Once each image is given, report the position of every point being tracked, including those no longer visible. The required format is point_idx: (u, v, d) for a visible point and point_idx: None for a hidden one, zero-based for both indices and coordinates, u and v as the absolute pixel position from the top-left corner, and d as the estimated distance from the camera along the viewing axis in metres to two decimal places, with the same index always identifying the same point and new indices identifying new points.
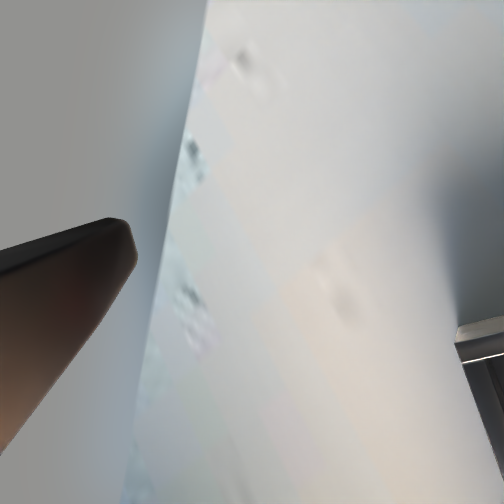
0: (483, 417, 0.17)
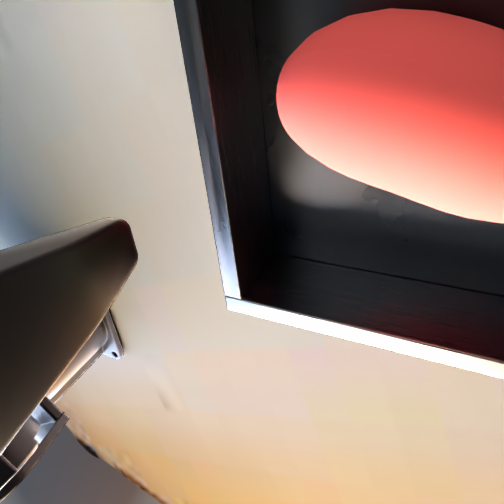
0: None
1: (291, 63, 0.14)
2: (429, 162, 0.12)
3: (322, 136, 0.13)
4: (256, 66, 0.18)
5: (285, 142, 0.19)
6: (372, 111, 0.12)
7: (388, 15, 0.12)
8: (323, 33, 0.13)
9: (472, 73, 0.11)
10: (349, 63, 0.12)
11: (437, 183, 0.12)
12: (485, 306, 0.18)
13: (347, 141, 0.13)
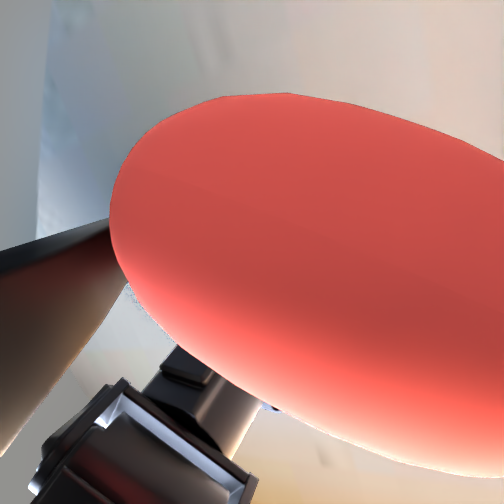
0: None
1: (117, 176, 0.08)
2: (320, 408, 0.06)
3: (154, 314, 0.08)
4: None
5: None
6: (212, 306, 0.06)
7: (254, 115, 0.07)
8: (157, 134, 0.08)
9: (392, 262, 0.05)
10: (175, 208, 0.06)
11: (341, 433, 0.06)
12: None
13: (186, 338, 0.07)
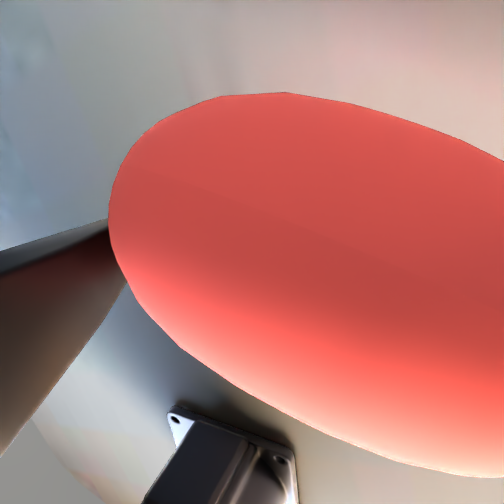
0: None
1: None
2: (318, 408, 0.06)
3: (153, 314, 0.08)
4: None
5: None
6: (210, 306, 0.06)
7: (253, 115, 0.07)
8: (156, 133, 0.08)
9: (392, 262, 0.05)
10: (174, 208, 0.06)
11: (340, 433, 0.06)
12: None
13: (185, 337, 0.07)
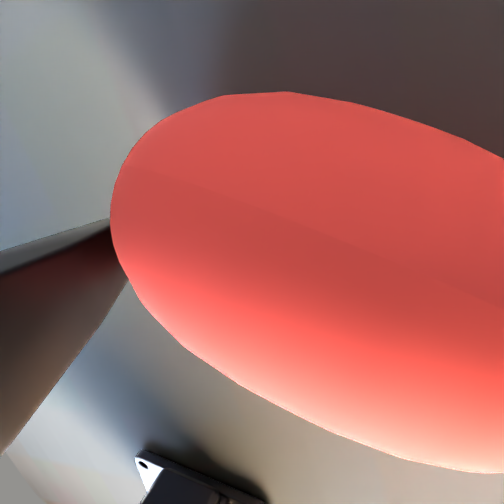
0: None
1: (118, 176, 0.08)
2: (323, 406, 0.06)
3: (156, 314, 0.08)
4: None
5: None
6: (215, 305, 0.06)
7: (256, 114, 0.07)
8: (158, 133, 0.08)
9: (395, 261, 0.05)
10: (177, 208, 0.06)
11: (344, 431, 0.06)
12: None
13: (189, 337, 0.07)
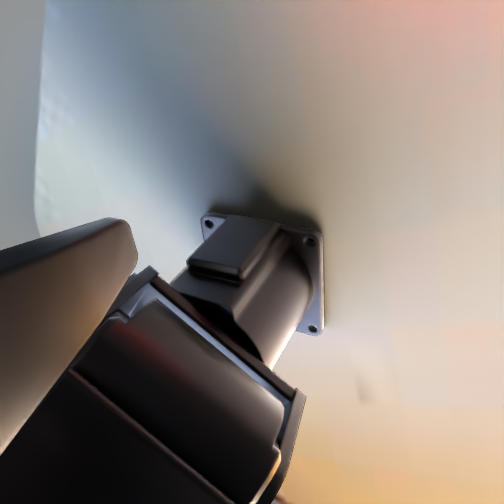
0: None
1: None
2: None
3: None
4: None
5: None
6: None
7: None
8: None
9: None
10: None
11: None
12: None
13: None
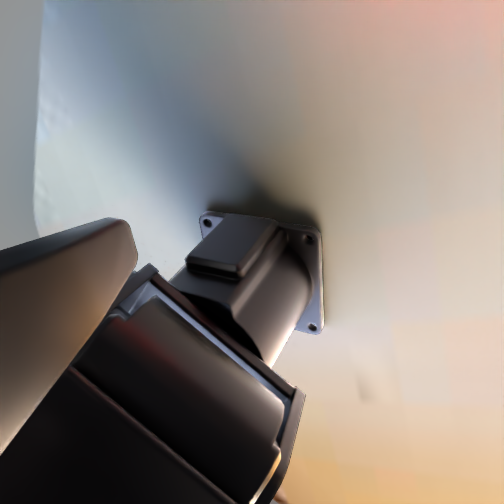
0: None
1: None
2: None
3: None
4: None
5: None
6: None
7: None
8: None
9: None
10: None
11: None
12: None
13: None
